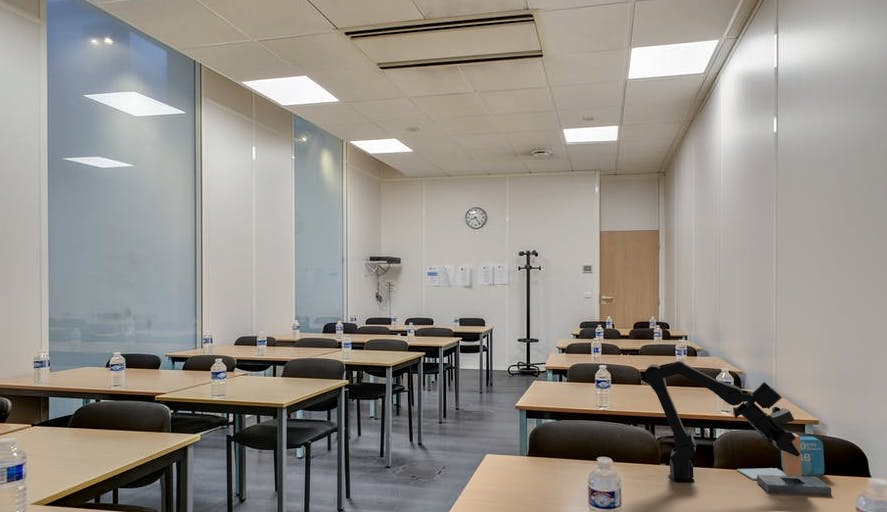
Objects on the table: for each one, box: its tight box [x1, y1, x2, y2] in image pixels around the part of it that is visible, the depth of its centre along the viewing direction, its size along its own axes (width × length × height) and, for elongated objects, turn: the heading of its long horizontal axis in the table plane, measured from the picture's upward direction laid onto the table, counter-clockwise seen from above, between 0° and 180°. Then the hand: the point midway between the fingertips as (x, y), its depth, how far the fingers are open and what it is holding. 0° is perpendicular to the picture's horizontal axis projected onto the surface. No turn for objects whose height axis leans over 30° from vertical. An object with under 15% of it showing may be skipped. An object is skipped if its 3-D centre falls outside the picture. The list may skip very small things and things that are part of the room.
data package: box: [780, 435, 825, 476], centre depth 202 cm, size 12×4×12 cm, turn 80°
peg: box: [782, 432, 803, 477], centre depth 187 cm, size 4×4×12 cm
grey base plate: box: [756, 475, 832, 497], centre depth 186 cm, size 18×10×2 cm, turn 79°
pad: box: [736, 467, 787, 481], centre depth 200 cm, size 14×10×1 cm
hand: (796, 453), depth 186 cm, fingers closed on peg, 4 cm apart
